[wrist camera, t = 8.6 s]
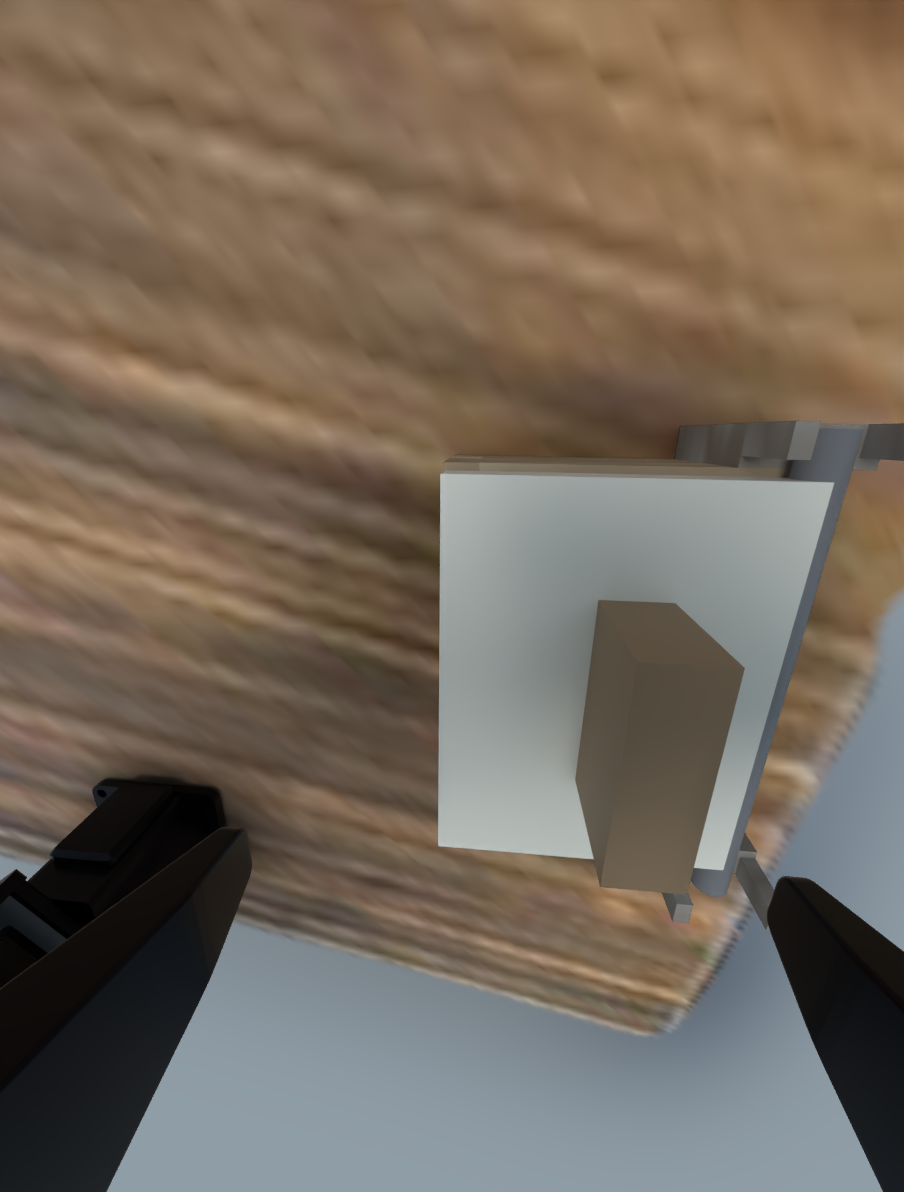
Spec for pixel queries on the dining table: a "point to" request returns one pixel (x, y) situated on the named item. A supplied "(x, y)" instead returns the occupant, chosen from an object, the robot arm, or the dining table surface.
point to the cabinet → (716, 455)
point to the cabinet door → (623, 658)
